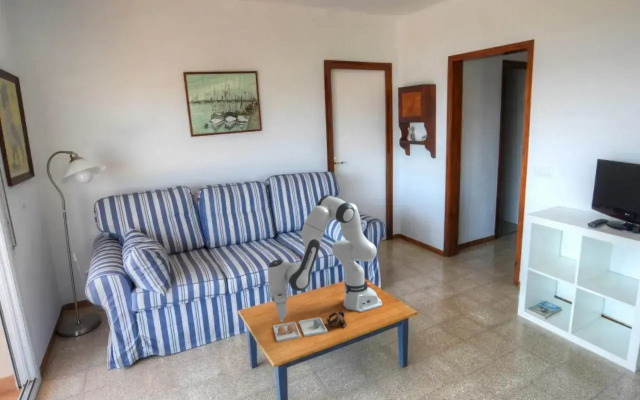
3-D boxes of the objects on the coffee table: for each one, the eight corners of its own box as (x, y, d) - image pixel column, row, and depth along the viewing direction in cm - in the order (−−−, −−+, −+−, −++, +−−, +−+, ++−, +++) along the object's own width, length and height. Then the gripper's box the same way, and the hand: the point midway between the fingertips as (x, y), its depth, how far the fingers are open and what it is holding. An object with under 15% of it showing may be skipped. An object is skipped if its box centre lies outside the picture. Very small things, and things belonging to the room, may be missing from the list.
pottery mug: (344, 333, 199) (335, 321, 197) (330, 336, 204) (322, 324, 202) (352, 317, 208) (343, 305, 206) (338, 320, 214) (330, 308, 212)
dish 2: (320, 320, 211) (320, 317, 211) (327, 333, 198) (327, 330, 198) (298, 323, 208) (298, 320, 208) (304, 337, 195) (304, 334, 195)
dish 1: (295, 324, 208) (295, 321, 207) (300, 338, 195) (300, 335, 194) (273, 328, 205) (272, 325, 205) (277, 343, 192) (276, 339, 191)
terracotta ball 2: (294, 328, 203) (293, 321, 202) (295, 332, 199) (295, 325, 198) (286, 330, 202) (286, 323, 201) (288, 334, 198) (287, 327, 197)
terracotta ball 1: (284, 329, 201) (284, 323, 200) (286, 335, 198) (285, 329, 196) (277, 331, 200) (276, 325, 199) (278, 336, 197) (278, 330, 195)
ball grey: (320, 324, 206) (319, 317, 205) (322, 328, 202) (321, 321, 201) (312, 325, 205) (312, 318, 204) (314, 329, 201) (314, 322, 200)
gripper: (269, 283, 204) (272, 307, 207) (274, 302, 185) (277, 327, 188) (281, 281, 205) (283, 305, 209) (287, 299, 186) (289, 325, 189)
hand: (280, 316), depth 198 cm, fingers open, 8 cm apart
